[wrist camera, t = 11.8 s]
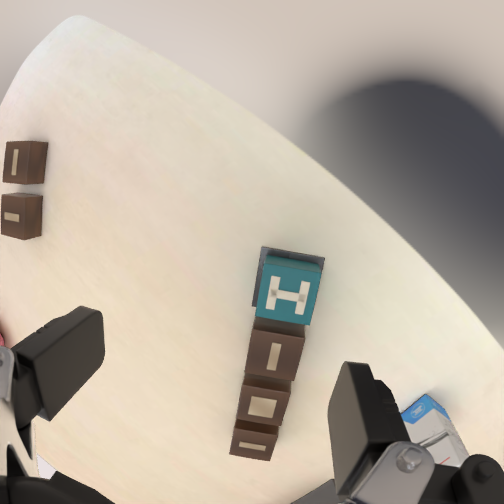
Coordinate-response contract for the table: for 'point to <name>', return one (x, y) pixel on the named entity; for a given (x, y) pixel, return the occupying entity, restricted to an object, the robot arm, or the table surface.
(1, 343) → the apple
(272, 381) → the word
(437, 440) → the ink box
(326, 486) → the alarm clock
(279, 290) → the teal letter h block
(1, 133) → the table surface
